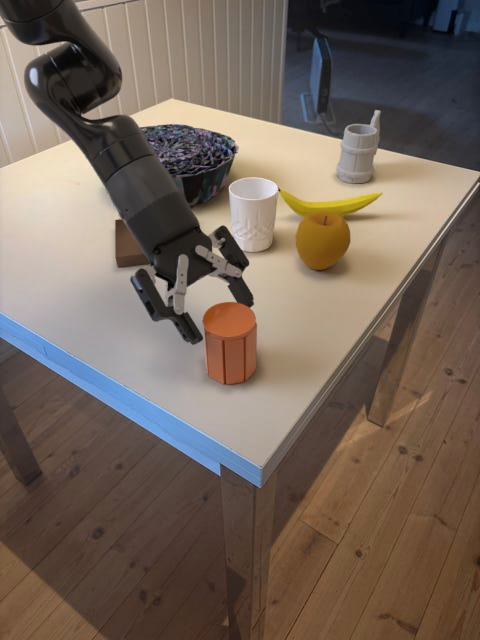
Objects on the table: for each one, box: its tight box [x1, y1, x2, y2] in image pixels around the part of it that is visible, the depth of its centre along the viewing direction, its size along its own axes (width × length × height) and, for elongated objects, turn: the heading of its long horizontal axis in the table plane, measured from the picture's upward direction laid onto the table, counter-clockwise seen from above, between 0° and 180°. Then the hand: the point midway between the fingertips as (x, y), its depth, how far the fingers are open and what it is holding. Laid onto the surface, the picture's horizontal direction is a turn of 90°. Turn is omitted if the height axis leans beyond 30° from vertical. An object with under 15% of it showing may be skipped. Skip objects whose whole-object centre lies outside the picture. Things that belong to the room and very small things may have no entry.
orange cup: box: [201, 301, 258, 386], centre depth 59 cm, size 6×6×8 cm
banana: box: [278, 186, 383, 218], centre depth 88 cm, size 3×19×6 cm, turn 92°
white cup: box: [228, 176, 279, 253], centre depth 81 cm, size 8×8×10 cm
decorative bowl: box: [139, 123, 240, 207], centre depth 97 cm, size 26×28×10 cm
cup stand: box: [114, 218, 150, 268], centre depth 81 cm, size 12×12×8 cm
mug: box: [335, 109, 382, 184], centre depth 100 cm, size 8×12×12 cm, turn 139°
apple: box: [295, 211, 351, 271], centre depth 76 cm, size 8×8×9 cm
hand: (224, 324), depth 58 cm, fingers open, 8 cm apart
